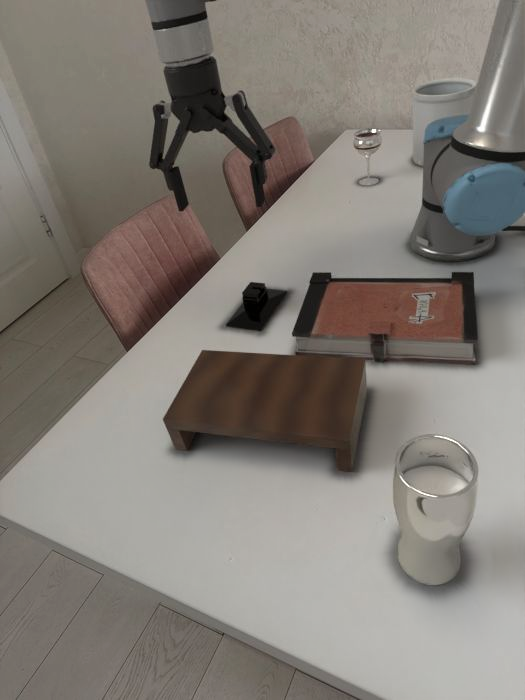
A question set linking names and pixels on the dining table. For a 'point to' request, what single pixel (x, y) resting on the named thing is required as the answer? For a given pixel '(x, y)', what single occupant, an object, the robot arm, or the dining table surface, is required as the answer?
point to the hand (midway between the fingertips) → (221, 206)
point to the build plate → (256, 307)
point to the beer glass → (433, 505)
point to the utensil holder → (438, 106)
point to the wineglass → (367, 148)
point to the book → (389, 319)
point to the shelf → (272, 400)
